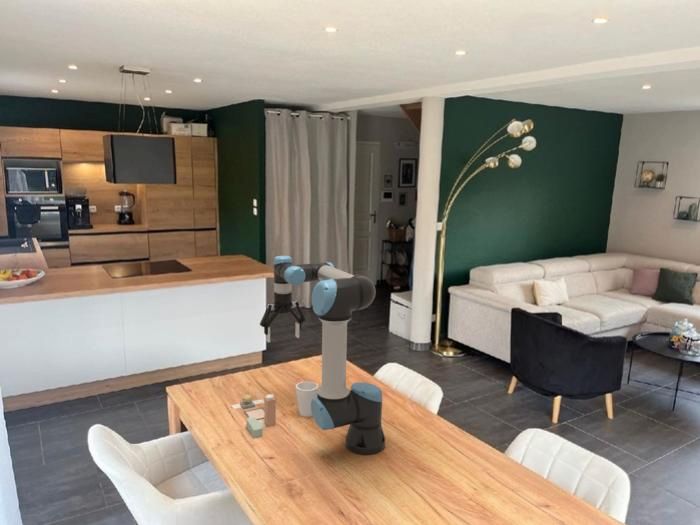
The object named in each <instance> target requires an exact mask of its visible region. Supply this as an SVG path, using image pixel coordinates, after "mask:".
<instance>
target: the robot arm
mask: <svg viewBox="0 0 700 525" xmlns="http://www.w3.org/2000/svg"><path fill="white" fill-rule="evenodd" d="M310 282H312V283H313V282H317V283H316V284H315V286H314V288H313V290H312V292H311V305H312V310H313V312H314V313H315V314H316V315H317V317H318V320H320V322H321V323H322V328H321V329H322V330H321V331H322V332H321V337H322V338H321V340H322V341H321V386H319V389H318V390H317V398H314V399H312V401H311V411H312V415H313V416H312V417H313V421H314V422H315V424H316V425H317V427H318V428H319V429H320V430H322V431H327V430H334V429H338V428H341V427H346V426H348V429H347V431H346V434H345V437H344V444H345V447H346V449H348V450H349V451H350V452H352V453H355V454H358V455H366V456H367V455H375V454H377V453H378V454H379V453H380V452H382V451H383V450H384V449H385V447H386V437H385V433H384V430H383V427H382V412H383V410H382V409H383V400H384V399H383V393H382V392H383V391H382V389H381V388H380V387H379V386H378V385H375V384H373V383H369V382H364V381H363V382H362V381H361V382H359V381H358V382H354V383H352V384H351V386H350V389H349V388H348V387H347V384H346V383H347V348H348V347H347V346H348V345H347V344H348V343H347V341H348V323H349V322H350V321H351V320H352V313H353V312H355V311H360V310H364V309H366V308H368V307H369V306H370V305H372V303H373V302H374V299H375V298H376V291H377V290H376V287H375V284H374V282H373V281H372V279H370V278H369V277H367V276H365V275H361V274H355V275H354V274H351V273H348V272H346V271H344V270H341V269H338V268H335V265H334V264H333V263H332V262H329V261H328V262H326V261H322V262H314V263H300V264H299V263H298V264H293V260H292V257H291V256H289V255H278V256H275V257H274V259H273V291H274V293H273V304H270V303H267V304H266V309H265V312H264V313H263V316H262V318H261V319H260V322H259V326H260V327H262V328H263V332H264V335H265V340H266V342H267V343H271V327H270V325H271V324H272V322H273V321H274V320H275V319H276V317H277V316H278V315H281V314H282V315H283V314H288V313H289V314H290V315H291V316H292V318H294V320H296V322H295V332H294V333H295V334H294V335H295V338H297V339H299V338H300V331H301V330H302V324H303V322H306V318H305V315H304V313H303V311H302V309H301V307H300V305H299V301H297V300H294V301H292V300H293V298H292V296H293V294H292V293H293V292H292V289H293V287H292V286H300V285H301V284H303V283H310ZM292 307H294V308H295V310H296V312H297V314H298V315H297V314H296V313H295V312H294V311H293V309H292ZM272 310H273V311H272ZM271 311H272V313H271Z"/></svg>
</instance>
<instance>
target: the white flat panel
mask: <svg viewBox="0 0 700 525" xmlns="http://www.w3.org/2000/svg"><path fill="white" fill-rule="evenodd" d="M258 404H260V405H261V404H264V399H263V398H259V399H257V400H256V399H255V400H251V401H249V402H244V401H243V400H242V401H239V403H237V404H232V405H230V406H231V407H230V408H231V409H232V410H236V409H241V408H242V409H243V410H244V411H243V413H244V414H245V416H246V417H247V418H249V417H252V418H254V417H255V418H256V420H257V421H258V422H259V424H260V425H261V427H262V428H264V427H267V426H266V424H265V422H264V421H263V420H264V408H263V407H259V408H255V407H256V405H258ZM252 408H254V409H252ZM246 409H247V410H246ZM248 409H249V410H248Z"/></svg>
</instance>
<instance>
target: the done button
mask: <svg viewBox="0 0 700 525" xmlns="http://www.w3.org/2000/svg"><path fill="white" fill-rule="evenodd" d="M252 396H253V395H252V394H251V393H244V394H243V395H242V402H243V401H244V402H249V401H251V400H252ZM252 401H253V400H252Z"/></svg>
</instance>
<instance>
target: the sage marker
mask: <svg viewBox="0 0 700 525" xmlns="http://www.w3.org/2000/svg"><path fill="white" fill-rule="evenodd" d="M245 423H246V429H247V430H248V431H249V433H250V435H251V437H253V438H254V439H255V438H260V437H263V432H264V431H263V430H264V429H263V428H264V427H261V425H260V424H259V422H258V421H257V420H256V418H255V417H254V418H252V417H249V418H248V417H247V418H246V420H245Z"/></svg>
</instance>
